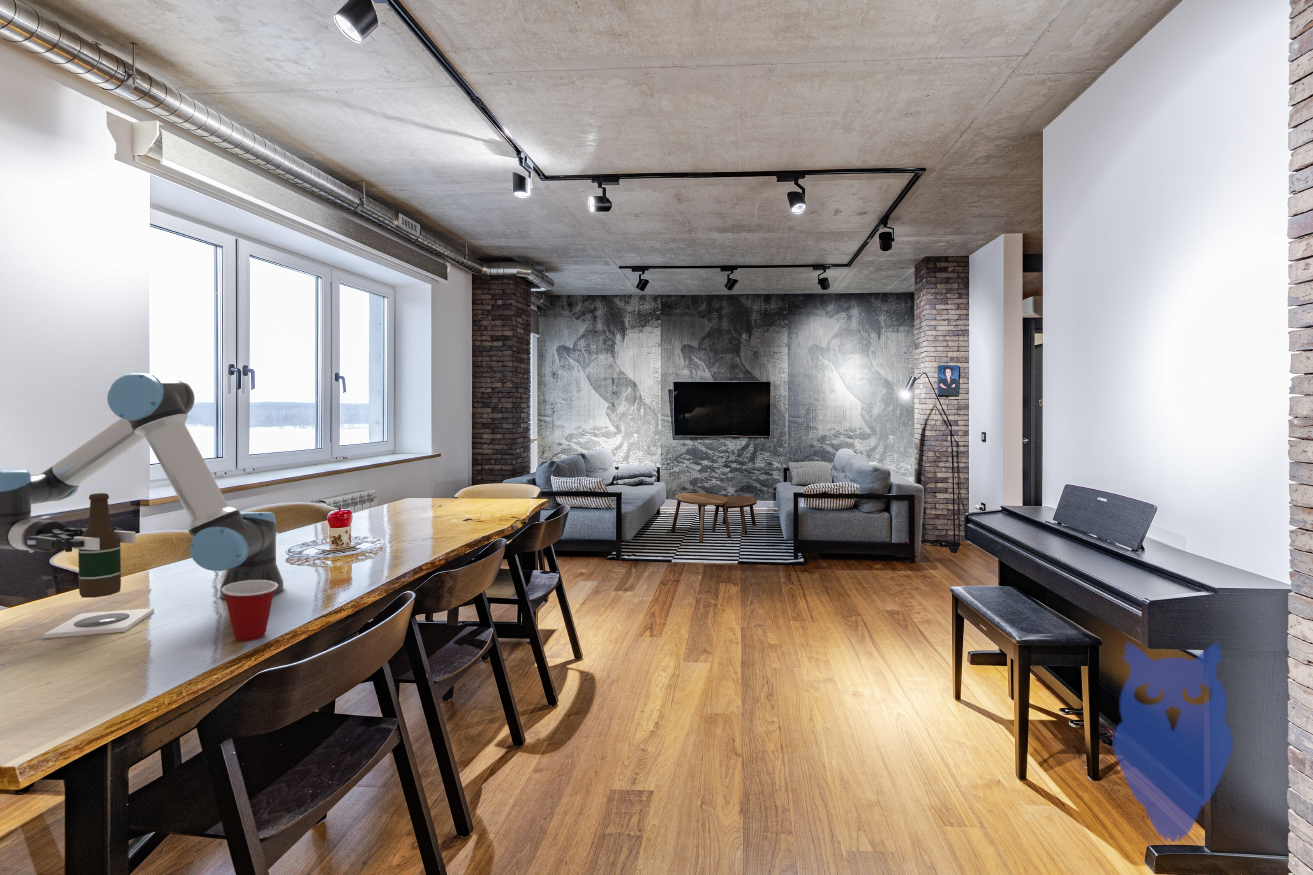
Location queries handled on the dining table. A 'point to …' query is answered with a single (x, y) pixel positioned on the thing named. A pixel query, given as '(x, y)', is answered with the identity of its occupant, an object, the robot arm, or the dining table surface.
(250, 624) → the plastic cup
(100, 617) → the tile
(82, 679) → the dining table surface
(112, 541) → the beer bottle
